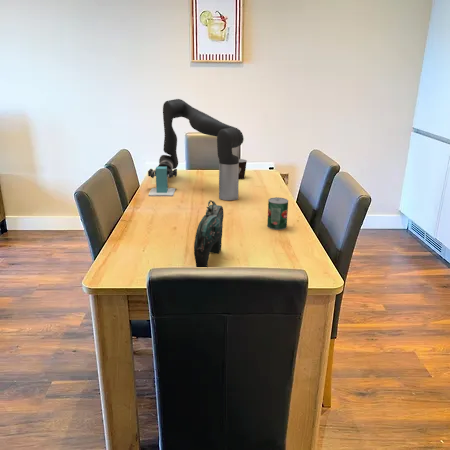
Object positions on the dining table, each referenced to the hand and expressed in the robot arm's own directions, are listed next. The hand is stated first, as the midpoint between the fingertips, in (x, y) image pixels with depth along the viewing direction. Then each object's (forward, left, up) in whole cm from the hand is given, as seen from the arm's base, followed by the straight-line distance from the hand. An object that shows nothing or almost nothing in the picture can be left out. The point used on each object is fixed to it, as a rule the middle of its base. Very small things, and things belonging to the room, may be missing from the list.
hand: (161, 176), depth 218 cm
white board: (0, -2, -9) cm, 9 cm away
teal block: (0, -2, -8) cm, 8 cm away
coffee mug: (-38, -34, -9) cm, 52 cm away
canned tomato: (-52, +45, -9) cm, 69 cm away
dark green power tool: (-26, +77, -9) cm, 82 cm away
